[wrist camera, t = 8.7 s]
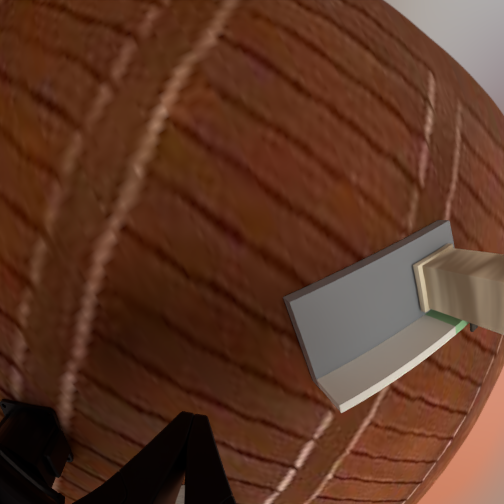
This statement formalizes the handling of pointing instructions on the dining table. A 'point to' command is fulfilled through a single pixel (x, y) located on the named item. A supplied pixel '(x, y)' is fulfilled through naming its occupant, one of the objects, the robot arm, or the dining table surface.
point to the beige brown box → (463, 286)
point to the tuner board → (370, 320)
